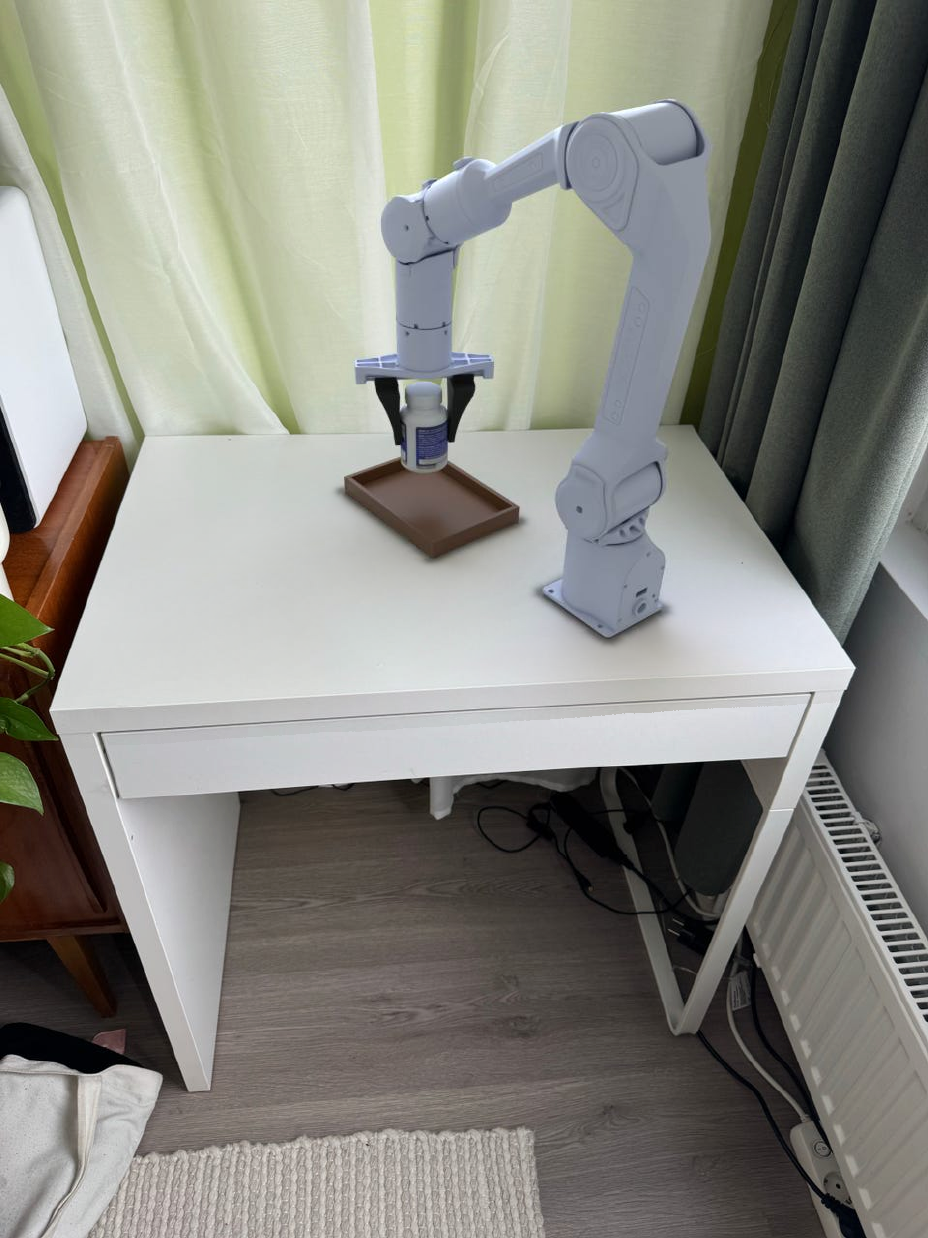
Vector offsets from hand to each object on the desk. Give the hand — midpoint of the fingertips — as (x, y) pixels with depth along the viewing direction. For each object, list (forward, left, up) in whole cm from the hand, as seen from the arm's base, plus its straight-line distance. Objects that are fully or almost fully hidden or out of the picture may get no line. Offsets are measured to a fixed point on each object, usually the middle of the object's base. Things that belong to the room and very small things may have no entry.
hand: (424, 439), depth 103 cm
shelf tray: (-1, 0, -8) cm, 8 cm away
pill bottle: (0, 0, -3) cm, 3 cm away
